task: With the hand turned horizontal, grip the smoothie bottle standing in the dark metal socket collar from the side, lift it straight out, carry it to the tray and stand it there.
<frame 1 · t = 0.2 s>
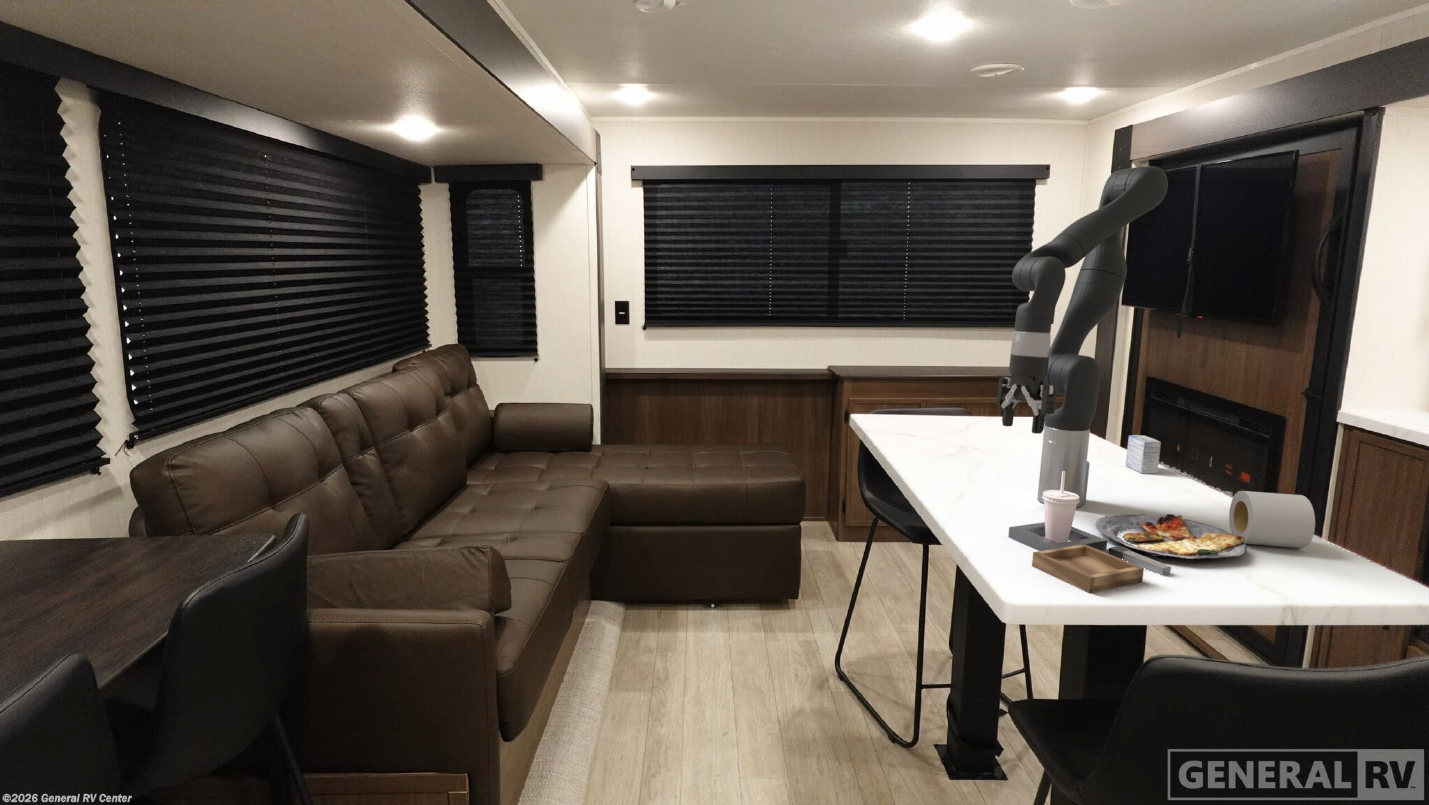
hand: (1021, 429, 162), 18 cm above the table, tool pointing down, fingers open, 8 cm apart
socket: (1056, 543, 144), on the table
food plate: (1167, 545, 146), on the table
tray: (1085, 574, 130), on the table
smoothie: (1056, 544, 144), resting in socket
toilet paper: (1266, 545, 146), on the table
medicine box: (1140, 471, 201), on the table
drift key: (1139, 565, 134), on the table
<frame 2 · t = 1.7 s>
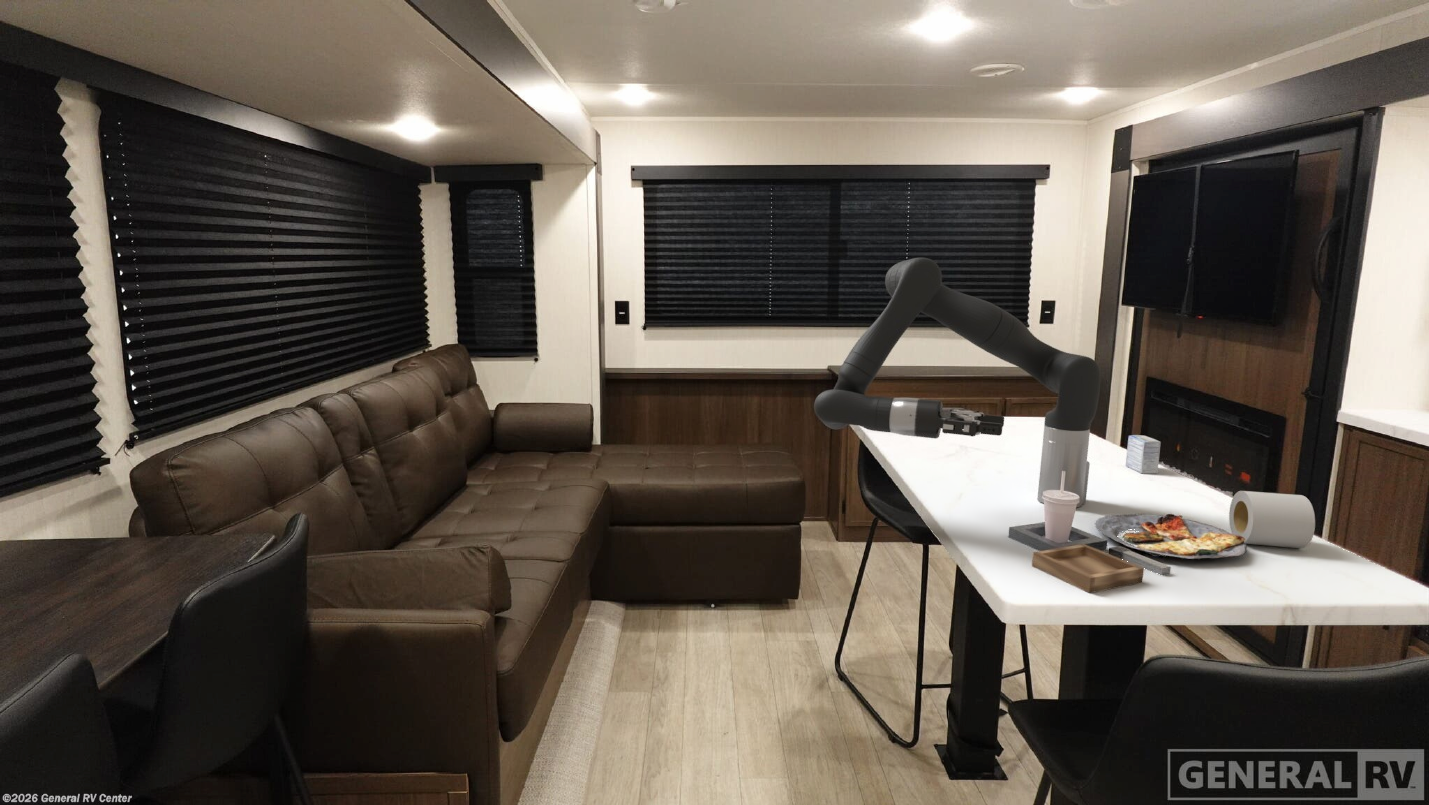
hand: (1003, 425, 144), 22 cm above the table, tool horizontal, fingers open, 8 cm apart
nothing on the table moved.
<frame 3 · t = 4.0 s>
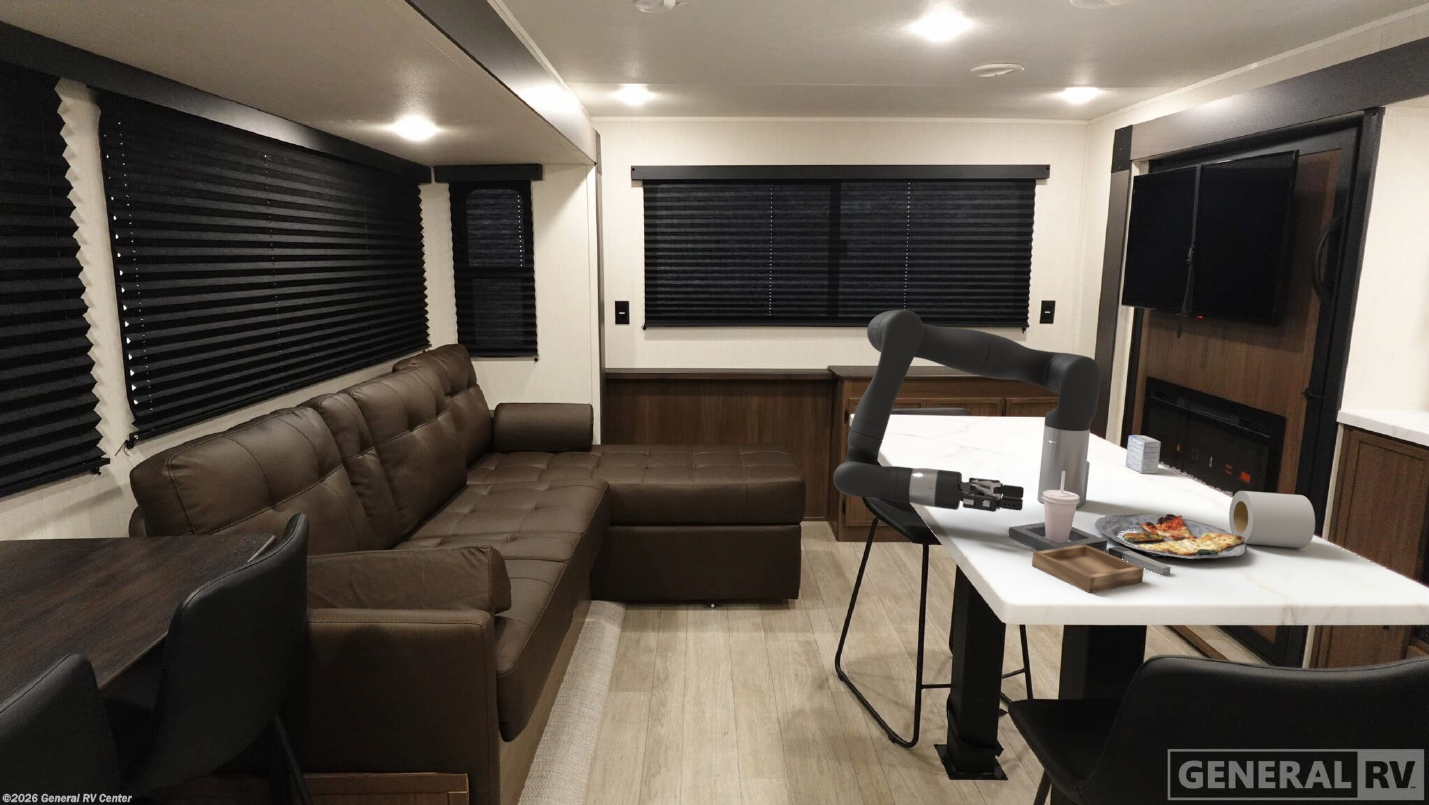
hand: (1023, 498, 145), 8 cm above the table, tool horizontal, fingers open, 8 cm apart
nothing on the table moved.
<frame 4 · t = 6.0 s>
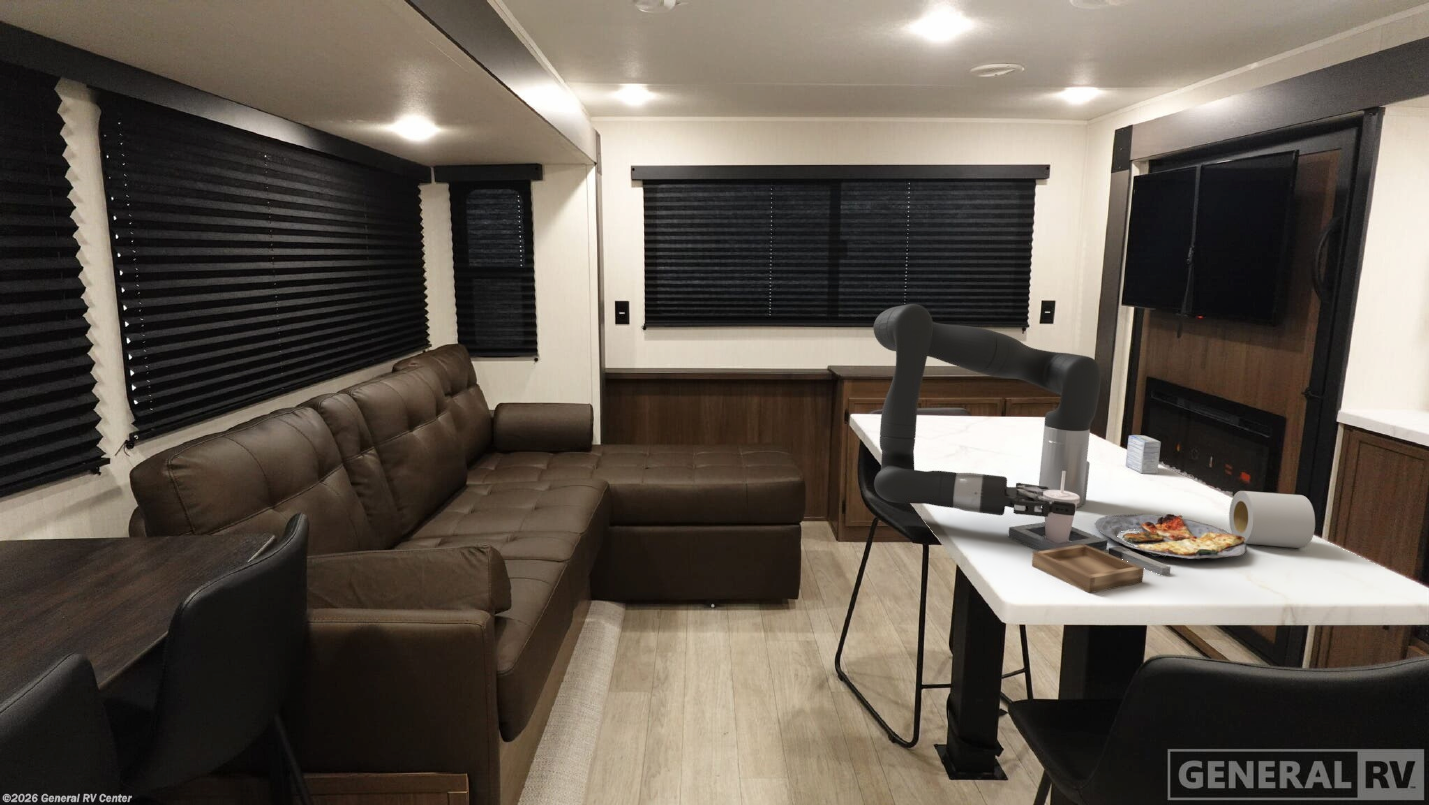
hand: (1074, 504, 142), 8 cm above the table, tool horizontal, fingers closed on smoothie, 6 cm apart
smoothie: (1056, 544, 144), resting in socket, touching gripper
everything else where it was.
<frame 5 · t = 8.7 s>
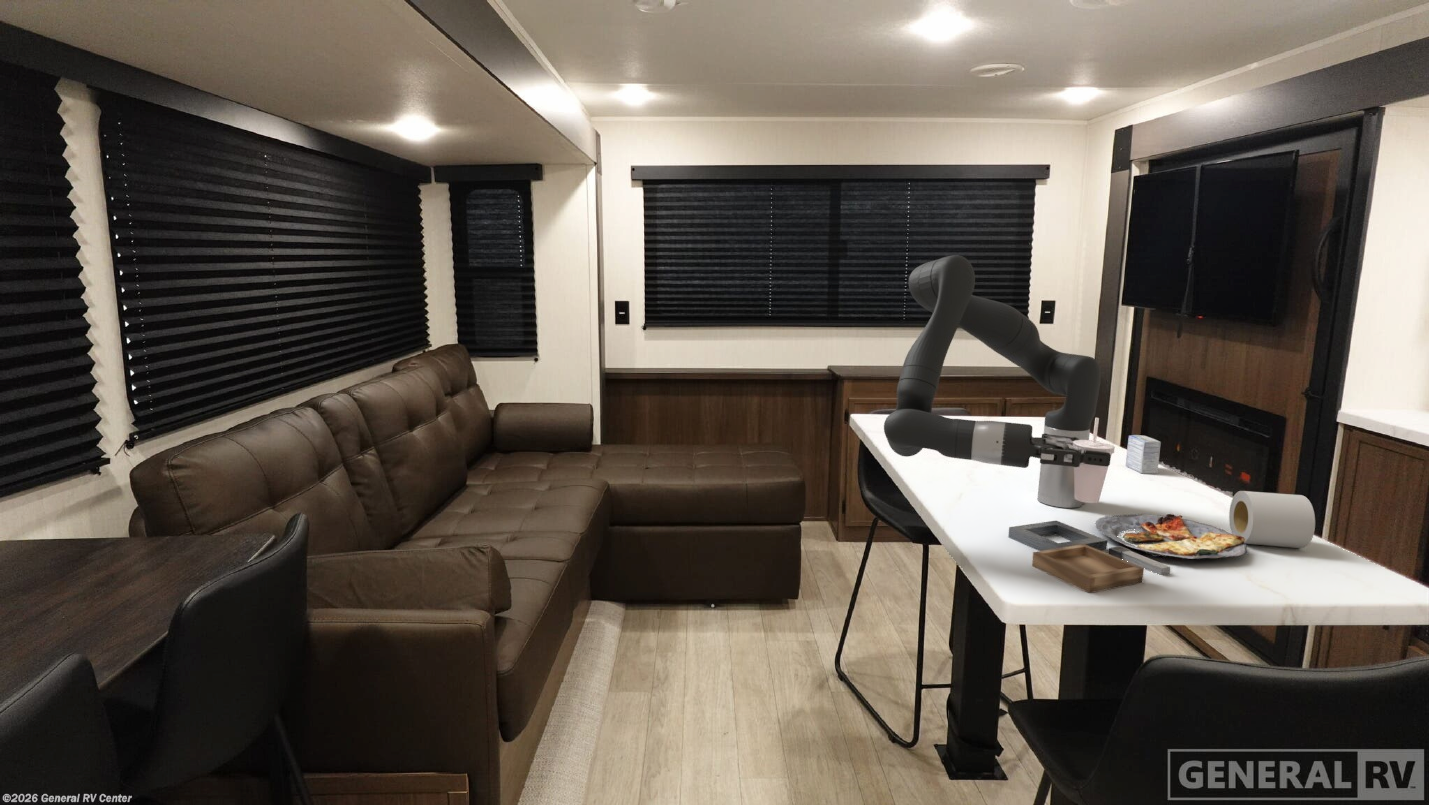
hand: (1108, 455, 126), 21 cm above the table, tool horizontal, fingers closed on smoothie, 6 cm apart
smoothie: (1086, 501, 128), point 13 cm above the table, touching gripper
everything else where it was.
when the fingers open (10 cm above the table, at t = 11.4 s): smoothie drops 1 cm, resting on tray.
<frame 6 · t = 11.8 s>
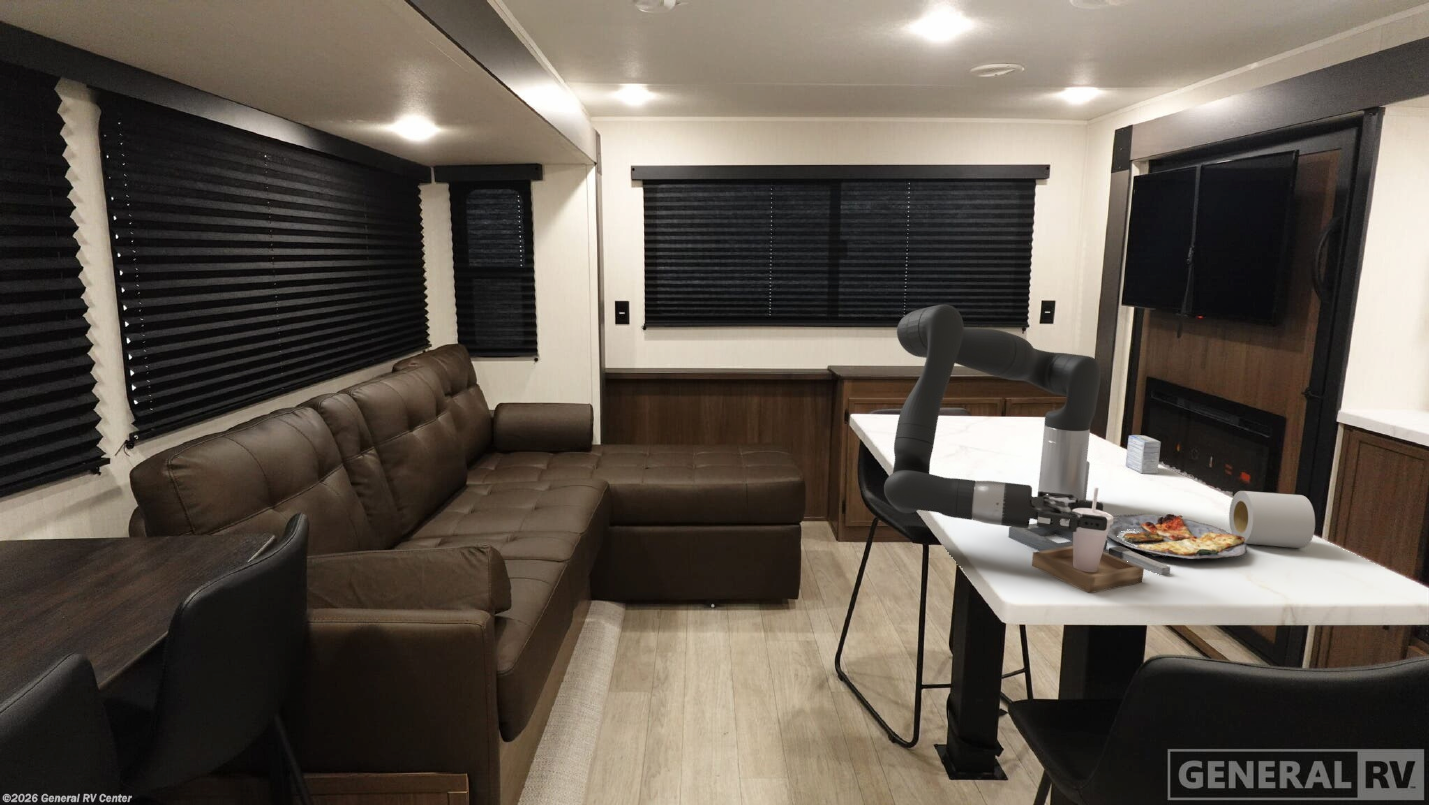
hand: (1104, 516, 127), 10 cm above the table, tool horizontal, fingers open, 8 cm apart
smoothie: (1084, 569, 129), point 1 cm above the table, touching tray
everything else where it was.
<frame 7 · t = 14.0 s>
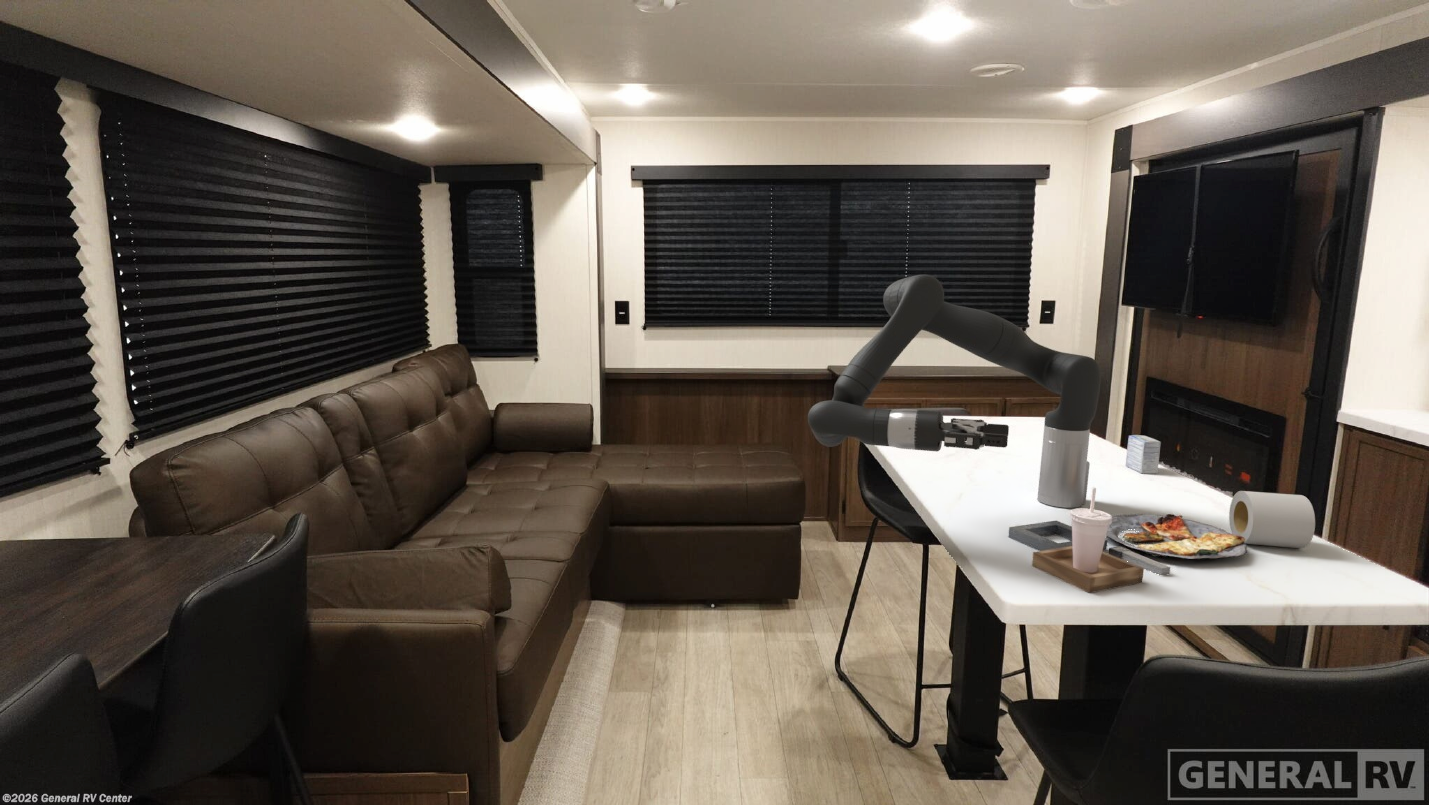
hand: (1008, 435, 136), 22 cm above the table, tool horizontal, fingers open, 8 cm apart
nothing on the table moved.
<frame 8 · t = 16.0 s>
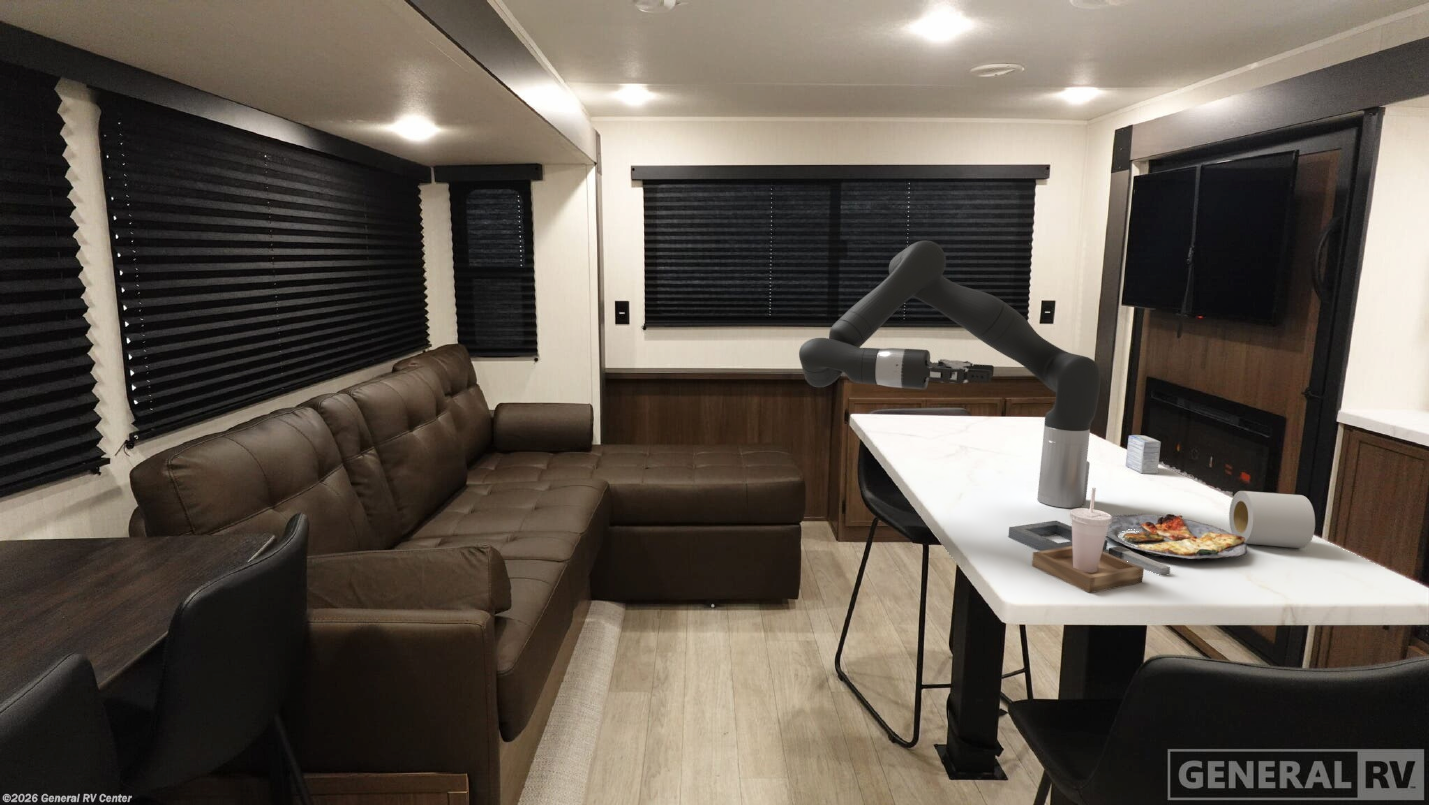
hand: (992, 373, 140), 32 cm above the table, tool horizontal, fingers open, 8 cm apart
nothing on the table moved.
at the end: smoothie inside the target area on the tray (0.2 cm from its centre), point 0.8 cm above the tray's base; smoothie tilted 0°; the gripper is holding nothing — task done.
